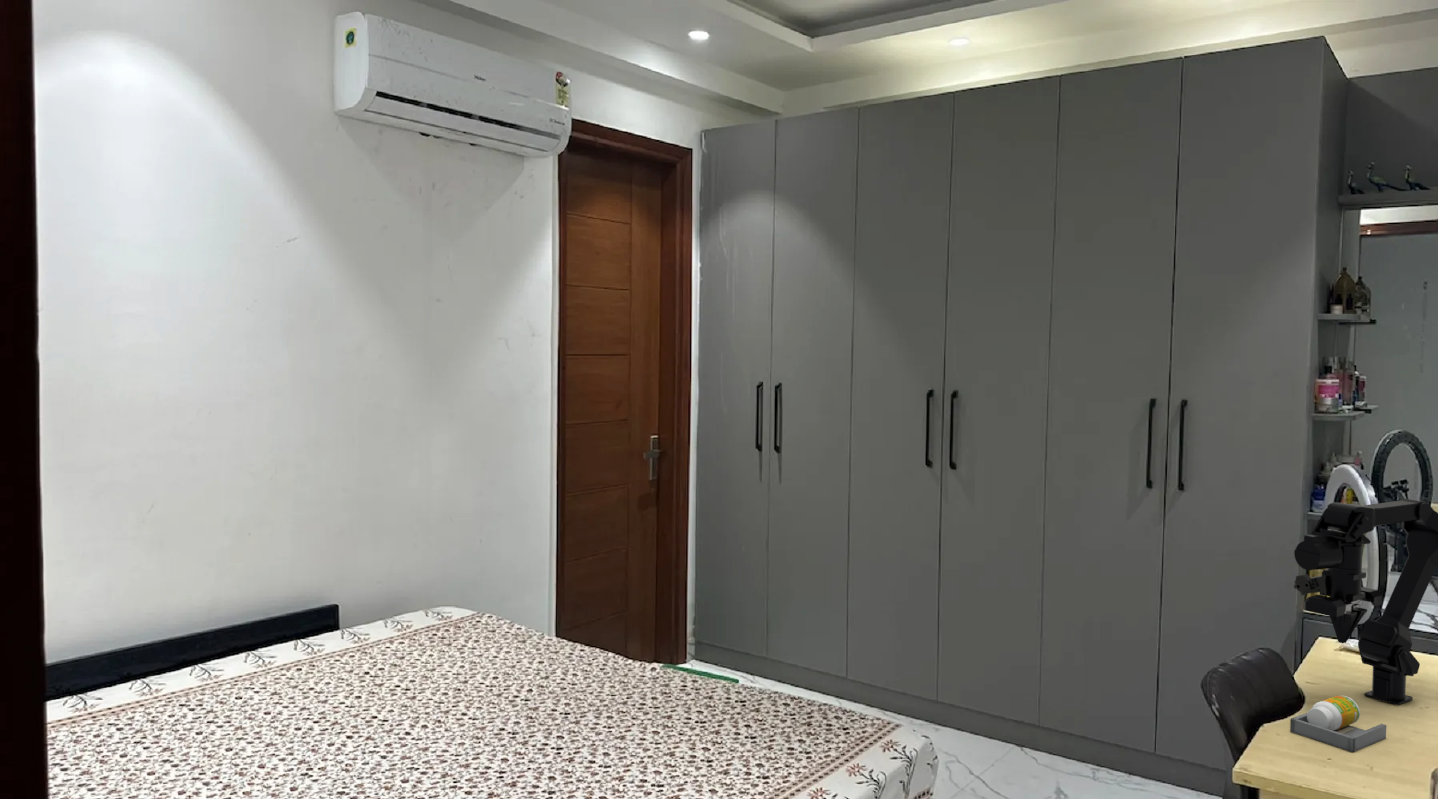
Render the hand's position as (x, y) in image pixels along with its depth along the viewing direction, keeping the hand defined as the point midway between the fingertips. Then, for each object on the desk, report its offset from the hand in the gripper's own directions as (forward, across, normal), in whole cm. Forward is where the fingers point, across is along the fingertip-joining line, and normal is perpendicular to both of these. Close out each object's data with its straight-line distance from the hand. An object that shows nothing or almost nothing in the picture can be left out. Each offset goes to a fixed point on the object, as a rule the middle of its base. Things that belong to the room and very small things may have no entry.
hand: (1342, 642), depth 196 cm
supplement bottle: (+10, +9, +6) cm, 15 cm away
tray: (+13, +16, +8) cm, 22 cm away
